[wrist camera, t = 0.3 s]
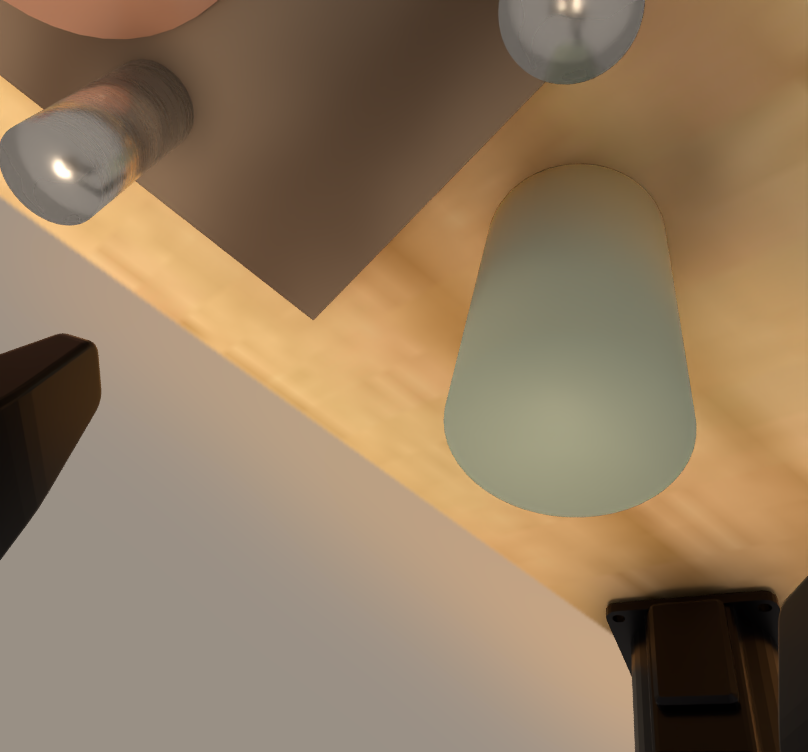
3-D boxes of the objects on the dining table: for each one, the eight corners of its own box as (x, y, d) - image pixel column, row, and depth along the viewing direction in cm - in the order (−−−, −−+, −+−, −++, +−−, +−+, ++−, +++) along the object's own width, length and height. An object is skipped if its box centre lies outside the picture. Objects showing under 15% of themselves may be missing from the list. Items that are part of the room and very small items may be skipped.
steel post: (640, -1, 16) (654, 62, 12) (141, 156, 21) (40, 235, 17) (623, -124, 15) (632, -97, 11) (95, 73, 20) (-24, 139, 16)
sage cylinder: (683, 297, 21) (718, 500, 15) (519, 336, 23) (491, 529, 17) (642, 137, 19) (664, 303, 13) (462, 197, 21) (405, 365, 15)
